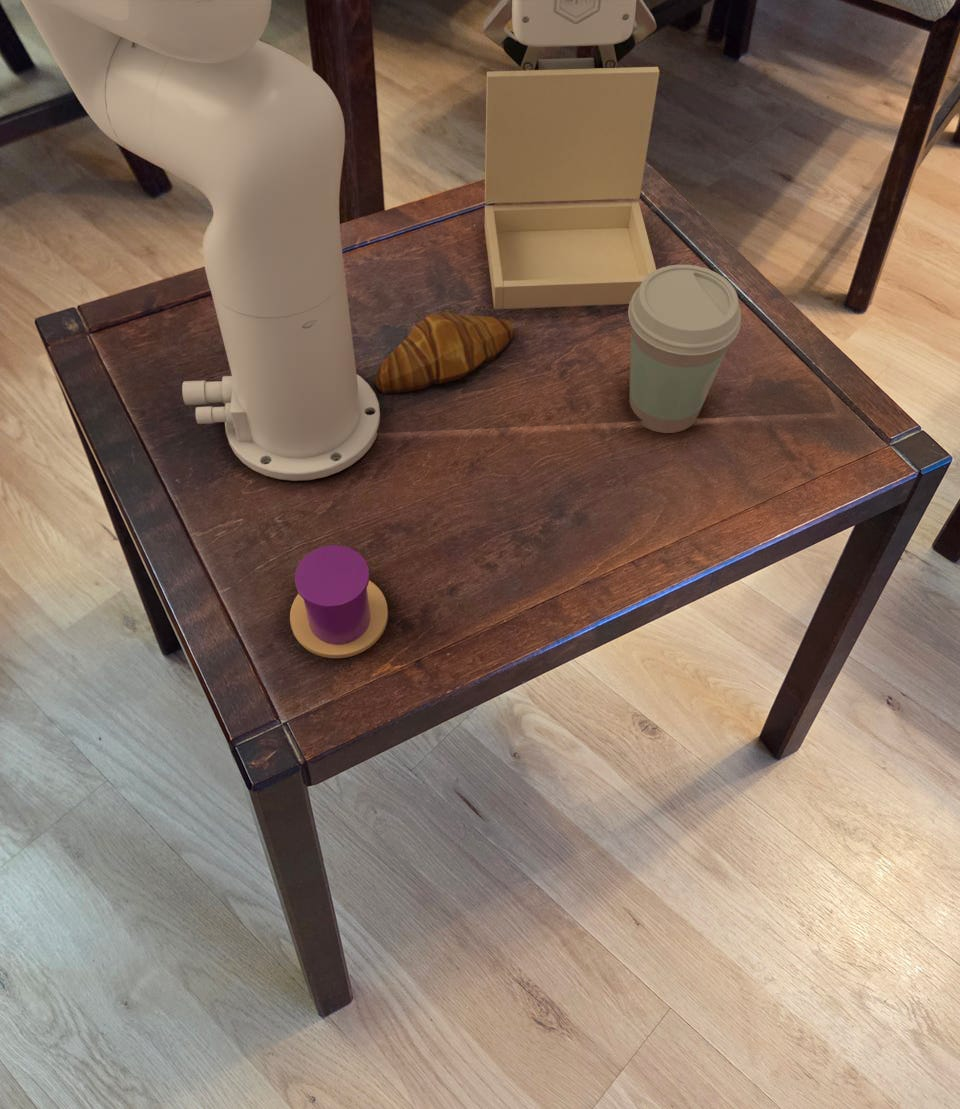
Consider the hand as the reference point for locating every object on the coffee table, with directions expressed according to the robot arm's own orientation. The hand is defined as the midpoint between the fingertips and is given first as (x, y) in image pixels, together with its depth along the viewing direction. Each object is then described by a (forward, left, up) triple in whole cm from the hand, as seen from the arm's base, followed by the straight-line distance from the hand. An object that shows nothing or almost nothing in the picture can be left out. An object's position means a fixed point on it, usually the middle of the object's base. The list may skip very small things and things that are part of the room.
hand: (563, 104), depth 95 cm
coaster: (-21, -47, -11) cm, 52 cm away
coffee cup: (+6, -28, -11) cm, 30 cm away
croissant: (-12, -22, -11) cm, 27 cm away
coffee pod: (-21, -47, -10) cm, 53 cm away
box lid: (0, -4, -1) cm, 4 cm away
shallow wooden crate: (0, -10, -11) cm, 15 cm away
